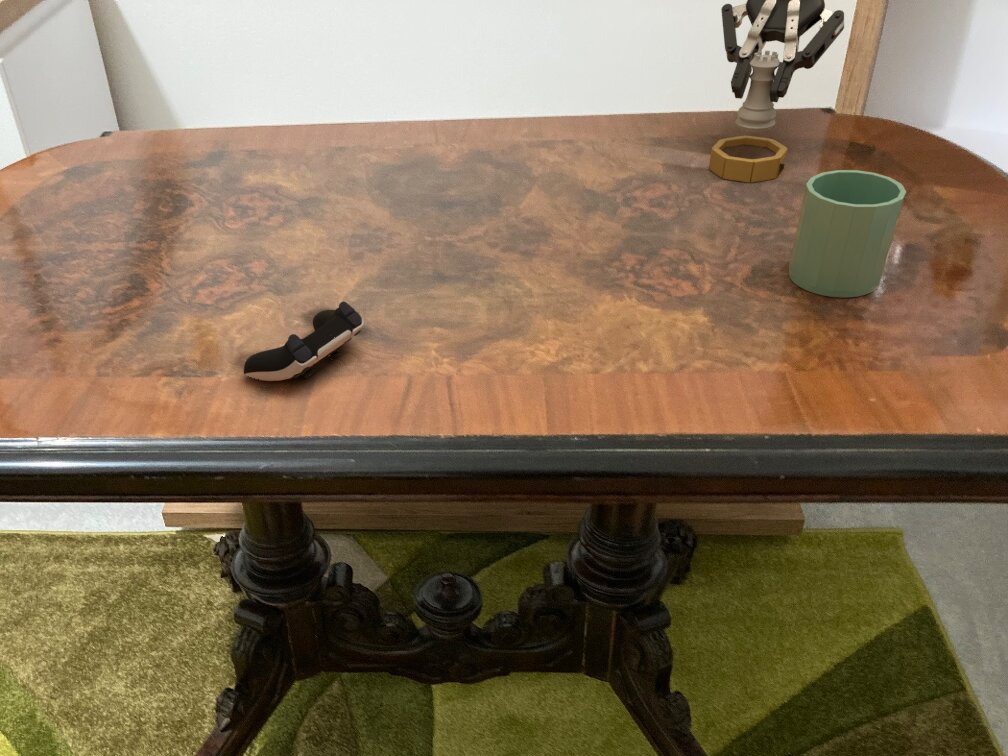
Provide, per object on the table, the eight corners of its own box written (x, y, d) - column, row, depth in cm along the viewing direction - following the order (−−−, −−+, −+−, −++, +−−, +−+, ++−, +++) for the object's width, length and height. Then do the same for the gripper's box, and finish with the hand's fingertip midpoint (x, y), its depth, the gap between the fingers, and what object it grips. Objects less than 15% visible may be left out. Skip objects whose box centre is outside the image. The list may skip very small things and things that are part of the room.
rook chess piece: (746, 134, 105) (757, 61, 100) (727, 122, 108) (738, 51, 103) (782, 129, 105) (795, 56, 100) (762, 117, 109) (774, 46, 104)
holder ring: (789, 161, 111) (793, 141, 109) (771, 186, 106) (774, 165, 104) (722, 152, 114) (725, 132, 113) (702, 175, 109) (705, 155, 108)
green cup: (887, 267, 89) (913, 177, 84) (870, 305, 84) (896, 212, 79) (800, 251, 93) (818, 164, 87) (778, 286, 88) (796, 197, 82)
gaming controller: (266, 408, 81) (299, 380, 76) (235, 368, 81) (266, 336, 75) (345, 352, 88) (382, 322, 82) (317, 314, 87) (352, 281, 82)
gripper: (870, -24, 104) (821, 120, 103) (743, -29, 110) (697, 106, 110) (871, -68, 97) (820, 86, 97) (736, -71, 103) (688, 73, 103)
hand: (755, 96), depth 103 cm, fingers closed on rook chess piece, 3 cm apart
